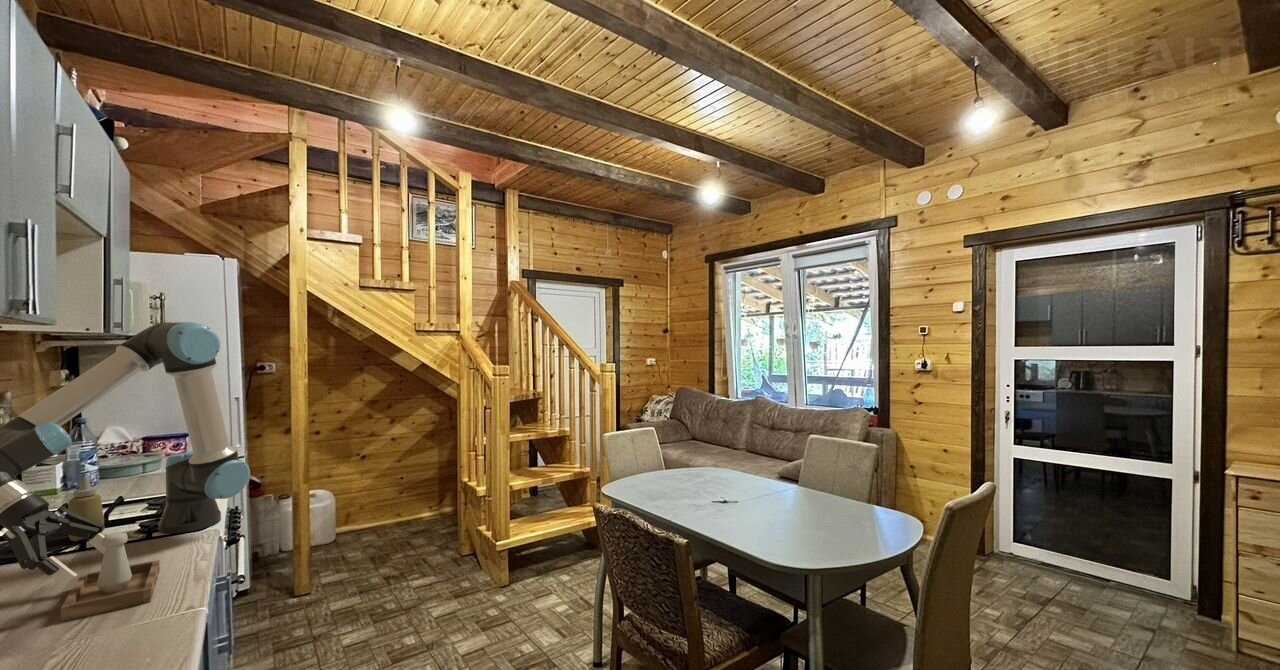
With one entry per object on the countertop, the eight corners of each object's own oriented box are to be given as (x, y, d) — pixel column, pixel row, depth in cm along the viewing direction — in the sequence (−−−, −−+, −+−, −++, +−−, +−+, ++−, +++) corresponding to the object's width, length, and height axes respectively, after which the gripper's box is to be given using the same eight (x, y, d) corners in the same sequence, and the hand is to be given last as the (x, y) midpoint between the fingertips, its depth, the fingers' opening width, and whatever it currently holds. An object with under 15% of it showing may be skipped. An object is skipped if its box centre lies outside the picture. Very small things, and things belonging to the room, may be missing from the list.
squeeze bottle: (92, 541, 155) (92, 479, 155) (57, 544, 152) (57, 481, 152) (111, 531, 163) (111, 472, 162) (77, 534, 160) (77, 474, 160)
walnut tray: (81, 586, 128) (81, 574, 128) (159, 571, 137) (159, 559, 137) (61, 621, 113) (61, 607, 113) (150, 601, 121) (150, 588, 121)
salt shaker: (109, 597, 121) (109, 540, 121) (90, 594, 123) (90, 537, 123) (138, 585, 127) (138, 530, 127) (120, 582, 128) (120, 528, 128)
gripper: (48, 501, 132) (120, 556, 135) (-58, 539, 107) (32, 606, 111) (75, 478, 133) (145, 534, 136) (-25, 512, 109) (64, 579, 112)
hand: (95, 567), depth 124 cm, fingers open, 13 cm apart
